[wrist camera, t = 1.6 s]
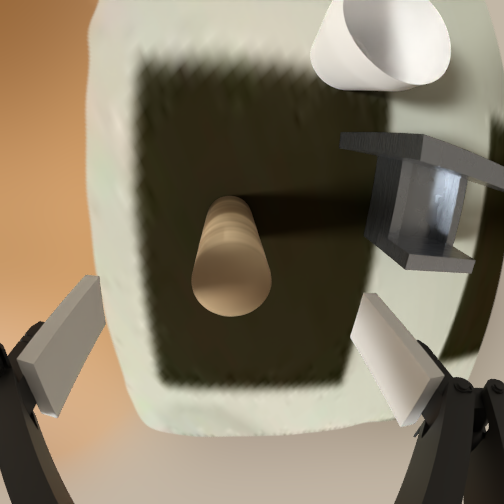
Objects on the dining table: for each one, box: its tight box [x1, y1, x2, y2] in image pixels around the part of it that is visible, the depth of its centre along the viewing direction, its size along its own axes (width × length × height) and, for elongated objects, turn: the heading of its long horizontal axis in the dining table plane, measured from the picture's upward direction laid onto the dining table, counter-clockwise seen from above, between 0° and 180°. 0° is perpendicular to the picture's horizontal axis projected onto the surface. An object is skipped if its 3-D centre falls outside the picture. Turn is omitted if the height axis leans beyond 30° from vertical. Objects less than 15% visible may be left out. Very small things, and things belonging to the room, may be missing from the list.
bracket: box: [339, 132, 504, 273], centre depth 24 cm, size 10×18×14 cm, turn 84°
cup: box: [310, 0, 451, 92], centre depth 19 cm, size 9×9×12 cm
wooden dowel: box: [192, 196, 271, 316], centre depth 23 cm, size 4×4×14 cm
